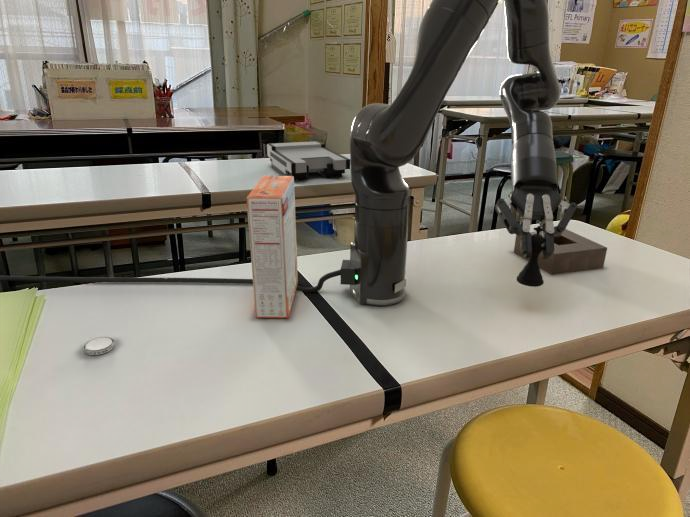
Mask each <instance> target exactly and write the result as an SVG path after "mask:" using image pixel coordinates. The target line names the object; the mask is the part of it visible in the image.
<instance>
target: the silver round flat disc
mask: <svg viewBox="0 0 690 517" xmlns="http://www.w3.org/2000/svg"><path fill="white" fill-rule="evenodd" d="M114 348H115V341H114V339H113V338H112V337H109V336H100V337H96V338H92V339H90V340H89V341H87V342H86V343H85V344H83V350H84V353H85V354H86V355H89V356H97V355H102V354H106V353H108V352H110V351H111V350H113V349H114Z"/></svg>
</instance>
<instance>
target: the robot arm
mask: <svg viewBox="0 0 690 517" xmlns="http://www.w3.org/2000/svg"><path fill="white" fill-rule="evenodd" d="M500 2H501V0H431V2H430V4H428V8H427V9H426V11H425V13H424V15H423V17H422V19H421V22H420V25H419V28H418V31H417V32H418V33H417V40H416V47H415V48H416V49H415V56H414V61H413V65H412V68H411V71H410V73H409V75H408V77H407V80H406V81H405V82H404V85H403V86H402V88H401V89H400V91H399V93H398V94H397V96H396V97H395V99H394V100H393V102H391V104H388V103H382V102H373V103H370V104H366V105H364V106H363V107H362V108H360V109H359V111H358V112H357V113H356V114H355V117H354V118H353V121H352V125H351V127H350V128H351V129H350V134H349V135H350V136H349V159H350V182H351V186H352V189H353V191H354V238H353V241H352V242H350V244H349V245H350V247H349V251H350V252H349V259H342V261H341V266H340V269H338V270H334V271H331V272H328V273H325V274H324V275H322V276H321V277H320V278H319V280H318V282H317V285H315V286H312V287H304V286H299V285H297V288H296V291H299V292H304V293H316V292H319V291H320V290H321V289H322V288H323V285H324V284H325V282H326V281H327V280H330V279H332V278H335V277H338V276H339V277H340V285H345V286H349V292H350V293H351V294H352V296H353V297H354V299H355V300H356V301H357V302H358V304H359V305H371V306H381V307H382V306H390V305H395V304H397V303H400V302H402V301H403V300H404V298H405V296H406V295H405V294H406V293H405V292H406V289H405V288H406V287H407V278H406V270H407V268H406V267H407V266H406V265H407V255H408V254H407V252H408V237H409V236H408V235H409V221H410V220H409V219H410V205H411V204H410V203H411V189H410V187H409V185H408V184H407V182H406V181H405V180H404V178H403V176H402V175H401V172H400V167H403V166H406V165H407V164H409V163H410V162H411V161H413V159H415V157H416V156H417V155H418V153H419V152H420V150H421V149H422V147H423V145H424V143H425V141H426V139H427V137H428V135H429V133H430V131H431V128H432V126H433V124H434V122H435V120H436V117H437V115H438V113H439V111H440V109H441V106H442V104H443V102H444V100H445V98H446V96H447V94H448V93H449V90H450V88H451V87H452V85H453V83H454V82H455V80H456V79H457V76H458V74H459V73H460V71H461V69H462V67H463V65H464V64H465V62H466V60H467V58H468V56H469V55H470V53H471V52H472V50H473V48H474V47H475V45H476V44H477V42H478V41H479V39H480V37H481V35H482V34H483V32H484V30H485V29H486V27H487V26H488V24H489V22H490V20H491V18H492V16H493V14H494V13H495V10H496V8H497V7H498V5H499V3H500ZM503 6H504V16H505V27H506V30H505V31H506V46H507V57H508V59H509V61H510V62H511V63H512V64H516V65H523V66H525V65H527V66H532V67H535V68H536V69H537V71H535V72H528V73H522V74H515V75H510V76H508V77H507V78H506V79H505V80H504V81H503V82H502V83H501V86H500V90H499V97H500V102H501V105H502V108H503V110H504V112H505V114H506V117H507V119H508V122H509V126H510V135H511V136H510V137H511V152H510V163H509V169H510V185H511V193H510V195H509V196H508V197H507V198H505V199H504V198H498V199H497V201H496V204H495V206H494V211H495V212H496V214H497V215H498V217H499V219H500V221H501V222H502V224H503V225H504V227H505V229H506V230H507V232H508V234H510V235H515V236H516V235H518V236H519V237H520V252H521V254H524V257H525V258H530V256H531V255H532V239H531V233H529V232H531V225H532V224H531V222H532V220H533V221H534V220H535V221H538V223H539V226H540V228H542V229H543V231H542V234H543V238H544V243H543V244H542V247H543V250H542V253H543V259H548V258H549V257H550V256H551V255H552V254H553V252H554V237H555V236H556V237H560V236H561V234H562V232H563V231H564V230H565V229H567V227H568V225H569V223H570V221H571V219H572V217H573V215H574V214H575V212H576V210H577V208H578V203H576V202H574V201H572V202H567V201H565V200H563V198H562V196H561V194H560V193H559V183H558V170H557V169H558V168H557V154H556V153H557V152H556V149H555V145H554V134H553V133H554V131H553V122H552V118H551V116H550V115H549V114H548V113H547V112H544V111H549V110H551V109H553V108H554V107H555V106H556V105H557V104H558V102H559V101H560V97H561V85H560V82H559V79H558V76H557V72H556V70H555V68H554V64H553V61H552V60H553V59H552V55H551V49H550V20H549V18H550V17H549V7H548V3H547V0H503ZM512 208H513V209H514V211H515V212H516V213H517V214H518V215H519V221H518V220H517V218H516V217H515V215H514V213H513V212H512V211H511V209H512ZM557 208H559V214H560V216H561V218H560V220H559V222H558V224H557V225H554V215H553V214H554V213H555V211H556V210H557ZM0 281H6V282H7V281H8V282H36V283H37V282H38V283H39V282H41V283H45V282H46V283H49V282H50V283H164V284H165V283H167V284H168V283H169V284H171V283H177V284H178V283H179V284H180V283H182V284H183V283H184V284H185V283H187V284H191V283H192V284H235V285H236V284H237V285H253V278H228V277H227V278H226V277H225V278H223V277H222V278H221V277H121V276H120V277H111V276H107V277H106V276H105V277H102V276H101V277H99V276H98V277H95V276H94V277H93V276H92V277H91V276H90V277H89V276H88V277H87V276H86V277H85V276H84V277H83V276H82V277H81V276H76V277H75V276H29V275H28V276H27V275H26V276H25V275H23V276H22V275H0Z"/></svg>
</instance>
